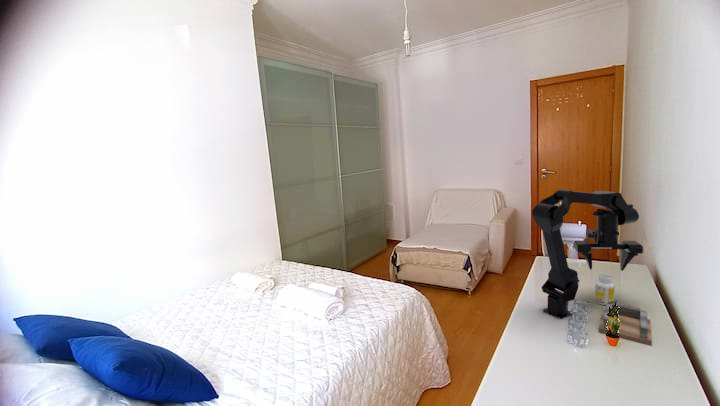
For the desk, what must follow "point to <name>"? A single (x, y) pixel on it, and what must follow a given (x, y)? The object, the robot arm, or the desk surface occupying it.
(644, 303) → the desk surface
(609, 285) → the supplement bottle
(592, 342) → the desk surface
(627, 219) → the robot arm
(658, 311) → the desk surface
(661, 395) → the desk surface
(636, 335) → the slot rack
